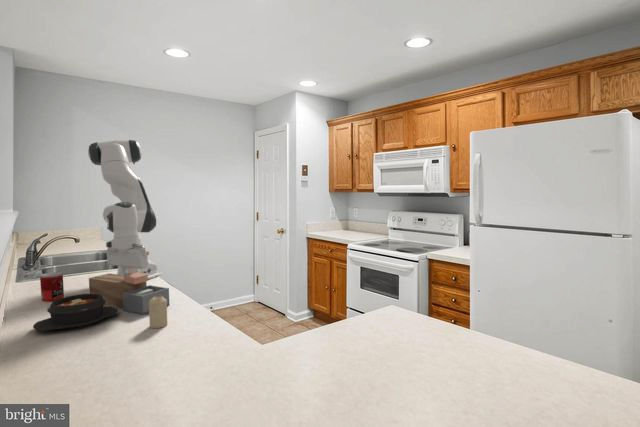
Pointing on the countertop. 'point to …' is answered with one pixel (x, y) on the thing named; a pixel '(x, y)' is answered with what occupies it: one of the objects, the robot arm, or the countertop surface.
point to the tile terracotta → (136, 278)
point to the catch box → (142, 299)
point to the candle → (158, 312)
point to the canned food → (51, 286)
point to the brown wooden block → (112, 288)
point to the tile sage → (145, 292)
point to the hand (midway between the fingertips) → (128, 277)
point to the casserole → (75, 312)
